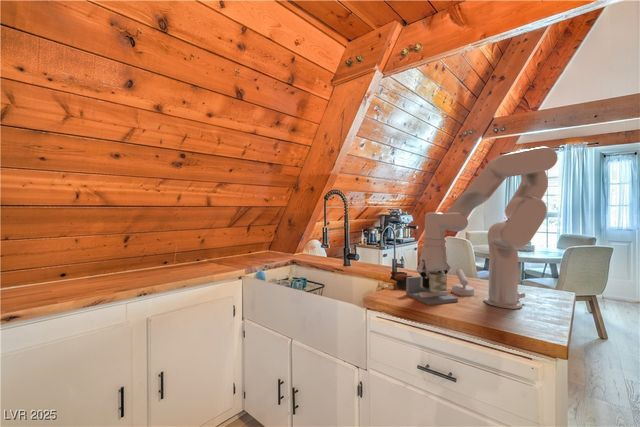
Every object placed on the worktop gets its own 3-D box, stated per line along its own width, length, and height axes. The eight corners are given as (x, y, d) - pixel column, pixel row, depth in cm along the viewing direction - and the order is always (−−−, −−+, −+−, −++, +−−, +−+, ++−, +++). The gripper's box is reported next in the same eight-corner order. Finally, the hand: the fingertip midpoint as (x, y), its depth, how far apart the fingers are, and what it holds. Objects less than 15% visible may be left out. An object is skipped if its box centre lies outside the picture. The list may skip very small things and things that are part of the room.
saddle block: (433, 286, 122) (433, 270, 122) (446, 291, 115) (446, 274, 115) (420, 287, 120) (420, 271, 120) (432, 292, 113) (433, 275, 113)
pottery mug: (386, 289, 134) (386, 271, 138) (395, 294, 140) (394, 277, 144) (412, 286, 127) (410, 268, 131) (420, 292, 133) (418, 274, 138)
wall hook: (468, 268, 132) (477, 273, 122) (468, 289, 132) (477, 296, 122) (448, 268, 133) (455, 272, 123) (448, 288, 133) (455, 295, 123)
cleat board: (433, 292, 128) (433, 275, 128) (457, 301, 115) (458, 282, 114) (406, 294, 123) (406, 277, 123) (428, 305, 110) (428, 285, 110)
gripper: (444, 241, 123) (443, 283, 124) (410, 242, 118) (409, 286, 118) (458, 243, 116) (457, 288, 117) (422, 244, 111) (421, 291, 111)
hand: (433, 286), depth 117 cm, fingers closed on saddle block, 6 cm apart
